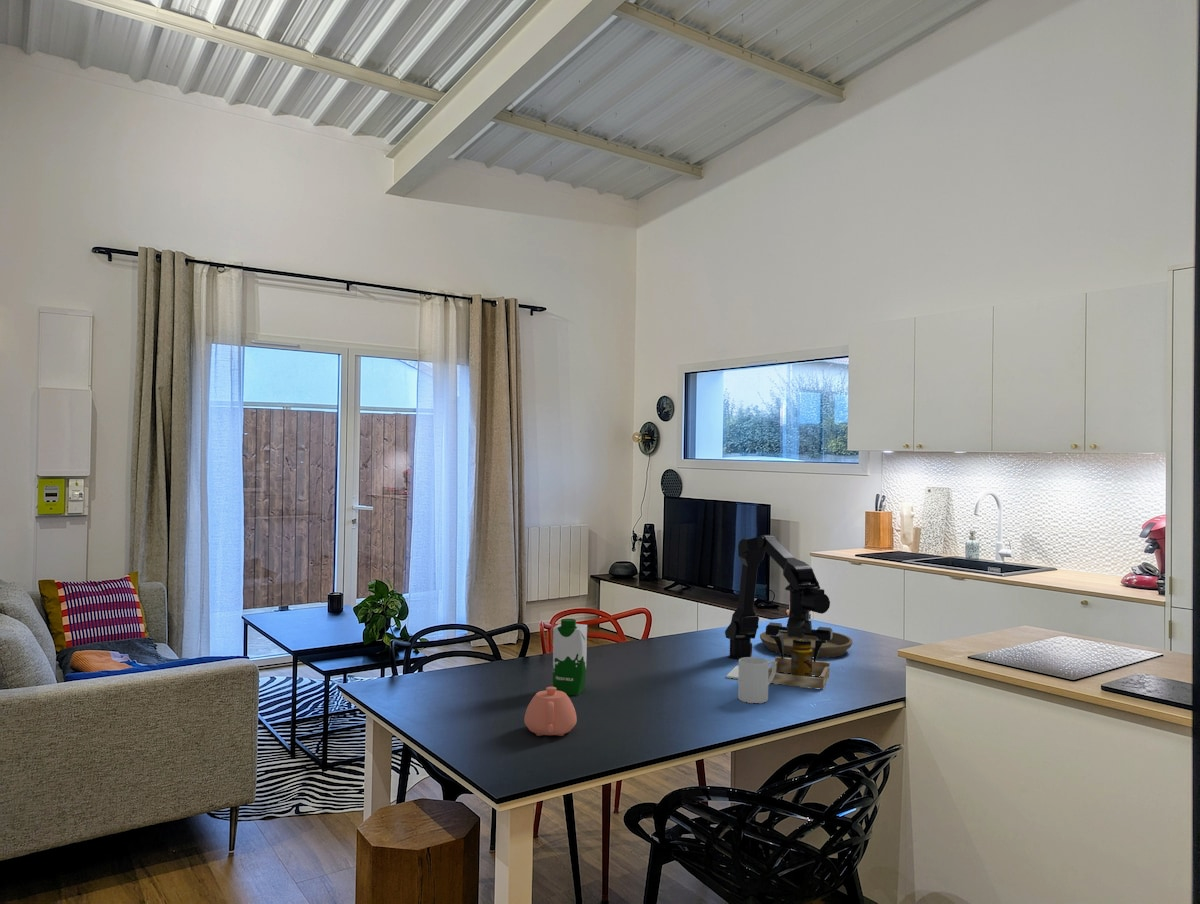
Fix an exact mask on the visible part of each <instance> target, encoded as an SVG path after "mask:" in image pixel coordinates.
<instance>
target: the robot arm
mask: <svg viewBox="0 0 1200 904" xmlns="http://www.w3.org/2000/svg"><path fill="white" fill-rule="evenodd" d="M737 549H738V550H737V553H738V555H737V556H738V559H739V560H740V563H741V576H740V585H739V596H738V605H737V608H736V609H735V610H734V611H733V613H732V616H731V619H730V620H731V621H730V624H729V625H728V626H727V628H726V629H725V631H724V635H725V638H726V639H728V640H729V655H728V658H730V659H738V660H739V659H740V658H744V657H753V642H751V639H754V640H755V638H756V635H757V631H758V629H759V620H760V617H759V615H757V614H756V612H755V610H754V607H755V605H754V604H755V598H756V589H757V578H758V570H759V569H758V568H759V566H760V564H762V561H763V560H764V558H765V555H766V554H765V553H767V554H768V555H769V557H771V558H772V560H773V561H774V562H776V564H777V565H778V566H779V567H780V568H781V570H782V575H783V576H784V578H785V579H786V581H787V583H788V585H787V586H786V587H785V588H784V589H785V591H789V609H788V610H789V611H788V614H789V615H788V619H787V622H786V626H783V623H781V622H772V621H770V622H769V623H767V625H766V626H765V632H766V634H767V635H770V638H774V640H775V641H776V643H777V646H778V648H779V652H780V654H779V655H780V657H781V658H782V659H784V658H785V657H784V656H785V655H784V643H783V633H787V636H789V637H792V636H793V637H798V638H803V637H804V635H810V636H817V639H816V641H815V651H814V658H813V661H814V663H815V661H817V659H818V658H817V656H818V653H819V650H820V647H821V645H822V643H826V642H827V641H830V640H831V639H832V637H833V632H834V631H833V629H832V627H824V626H818V627H817V629H813V626H812V624H813V623H812V620H810V612H814V613H817V614H821V615H822V614H825V613H827V612H828V610H829V609H830V606H831V600H830V598H829V596H828V595H827V594H826V593H825V589H824V588H821V586H820V583H819V581H818V579H817V577H816V574H815V572H814V570H813V568H812V567H811V565H809V564H808V563H806V562H805V561H803V560H800V559H797V558H795V557H794V556H793V555H792V554H791V553H790V551H788V550H787V549H786V548H785V547H784V546H783V544H781V543H780V542H779V541H778V540H777V538H776V536H775V535H772V534H762V535H758V536H756V537H752V538H742V539H741V540H740V541H739V542H738V545H737Z"/></svg>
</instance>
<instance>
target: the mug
mask: <svg viewBox="0 0 1200 904" xmlns="http://www.w3.org/2000/svg"><path fill="white" fill-rule="evenodd" d="M774 661H775V660H773V659H765V658H762V657H753V656H751V657H744V658H740V659H738V666H739V677H738V679H737V680H738V681H737V683H738V684H737V687H738V688H737V689H738V690H737V693H738V694H737V697H738V700H739V701H741V702H743V703H746V702H747V704H753V703H759V704H765V703H767V702H768V700H769V685H770V683H771V682H772V680H773V678H774V676H775V673H776V663H775V662H774ZM770 663H771V665H772V672H771V675H770V677H769V679H768V669H769V664H770ZM764 702H765V703H764Z"/></svg>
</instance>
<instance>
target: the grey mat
mask: <svg viewBox="0 0 1200 904" xmlns="http://www.w3.org/2000/svg"><path fill="white" fill-rule="evenodd" d="M738 677H739V665H736V666H735V667H734V668H732V670H730V672H728V673H727V675H725V678H726V679H731V678H733V680H738Z"/></svg>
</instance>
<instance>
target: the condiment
mask: <svg viewBox="0 0 1200 904" xmlns="http://www.w3.org/2000/svg"><path fill="white" fill-rule="evenodd" d="M790 658H791V674H790V675H798V676H807V677H813V676H812V660H813V658H812V649H811V641H810V640H809V639H804V638H796V639H794V640H793V648H792V649H791V656H790Z"/></svg>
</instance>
